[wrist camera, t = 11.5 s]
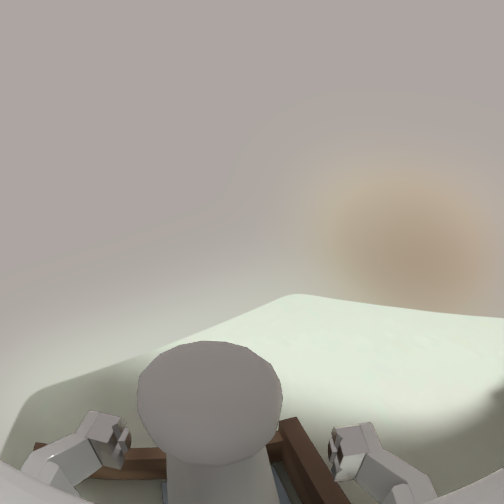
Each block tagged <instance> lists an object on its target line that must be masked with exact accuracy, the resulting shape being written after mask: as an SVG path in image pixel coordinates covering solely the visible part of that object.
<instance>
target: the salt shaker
mask: <svg viewBox="0 0 504 504" xmlns="http://www.w3.org/2000/svg"><path fill="white" fill-rule="evenodd" d="M282 401H283V395H282V389H281V383H280V380H279V378H278V376H277V375H276V373H275V371H274V369H273V367H272V365H271V364H270V363H268V362H267V361H266V360H264V359H263V358H261V357H260V356H258V355H257V354H255V353H254V352H252V351H251V350H250V349H248V348H247V347H243V346H239V345H235V344H232V343H228V342H217V341H199V342H194V343H188V344H183V345H179V346H177V347H174V348H172V349H170V350H168V351H166V352H164V353H161V354H160V355H159V356H157V357H156V358H155V359H154V360H153V361H152V362H151V363H150V364H149V366H148V367H147V368H146V369H145V370H144V371H143V372H142V373H141V374H140V378H139V384H138V390H137V406H138V413H139V416H140V418H141V421H142V423H143V425H144V427H145V429H146V430H147V432H148V433H149V435H150V436H151V438H152V439H153V441H154V442H155V444H156V445H157V447H159V448H160V449H161V450H162V451H163V452H165V453H166V464H167V491H168V504H280V501H279V497H278V493H277V490H276V486H275V482H274V478H273V474H272V470H271V466H270V462H269V458H268V454H267V450H266V446H265V445H266V444H267V443H268V442H270V441H271V439H272V438H273V436H274V435H275V432H276V428H277V425H278V421H279V417H280V413H281V407H282Z"/></svg>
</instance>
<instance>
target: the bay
mask: <svg viewBox="0 0 504 504" xmlns="http://www.w3.org/2000/svg"><path fill="white" fill-rule="evenodd" d="M46 445H48V444H44V443H37V442H36V443H35V446H34V450H33V451H35V450H37V449H40V448H42V447H44V446H46ZM265 446H266V450H267V454H268V458H269V462H270V464H271V463H275V462H279V461H281V462H282V464H283V467H284V469H285V471H286V473H287V475H288V477H289V479H290V481H291V483H292V485H293V487H294V489H295V491H296V493H297V494H298V496H299V498H300V500H301V502H302V504H351V503H350V501H349V500H348V498H347V497H346V495H345V494H344V492H343V491H342V489H341V488H340V486H339V485H338V483H337V482H334V480H333V476H332V474H331V472H330V471H329V469H328V467H327V466H326V464H325V463H324V461H323V460H322V458H321V456H320V455H319V453H318V452H317V450H316V448H315V447H314V445H313V443H312V442H311V440H310V439H309V437H308V435H307V434H306V432H305V430H304V429H303V427H302V425H301V424H300V422H299V420H298V419H297V417H293V418H289V419H285V420H281V421H279V428H278V431H276V432H275V435H274V436H273V438H272V439H271V441H270V442H268V443H267V444H266V445H265ZM124 456H125V460H124V463H123V465H122V468H121V470H120V469H115V468H111V467H107V466H103V465H102V467H101V468H100V469H98V470H97V471H96V472H94V473H93V474H91V475H90V476H89V477H87V478H98V479H125V480H139V479H167V464H166V453H165V452H163V451H162V450H161V449H160V448H159V447H156V448H129V451H127V452H126V453H124ZM271 470H272V474H273V478H274V482H275V486H276V490H277V493H278V497H279V501H280V504H291V502H290V500H289V497H288V495H287V493H286V491H285V489H284V487H283V485H282V483H281V481H280V479H279V476H278V474H277V472H276V470H275V468H274V466H272V467H271ZM161 488H162V496H163V504H168V491H167V482H161Z"/></svg>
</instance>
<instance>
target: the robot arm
mask: <svg viewBox="0 0 504 504" xmlns="http://www.w3.org/2000/svg"><path fill="white" fill-rule="evenodd" d="M126 424H127V423H126V421H125V418H123V417H119V416H114V415H110V414H106V413H102V412H98V411H94V410H90V411H89V412H88V413H87V415H86V416H85V418H84V419H83V421H82V423H81V424H80V426H79V427H78V429H77V431H76V432H75V434H69V435H67V436H65V437H63V438H61V439H59V440H57V441H55V442H53V443H51V444H48V445H46V446H44V447H42V448H40V449H37V450H35V451H33V452H31V454H30V455H29V457H28V458H27V460H26V461H25V463H24V464H23V466H22V467H21V469H20V470H17V469H16V468H14V467H12V466H10V465H8V464H7V463H5V462H3V461H2V460H0V504H96V503H93V502H90V501H87V500H85V499H82V498H81V496H80V494H79V493H78V491H77V490H76V489H75V488H74V487H75V486H76V485H77V484H79V483H80V482H82V481H83V480H84V479H86V478H87V477H89V476H90V475H91V474H93V473H94V472H96V471H97V470H98V469H100V468H101V467H102V465H103V466H107V467H111V468H115V469H120V470H121V468H122V465H123V463H124V460H125V456H124V453H126V452H127V451H129V448H130V446H131V434H130V431H129V430H128V429H127V428H126V427H125V426H126ZM331 434H332V438H331V439H330V440H329V444H328V457H329V461H330V462H331V463H332V464H333V465H332V468H331V471H332V476H333V480H334V482H338V481H346V480H354V479H355V481H356V482H357V483H358V484H359V485H360V486H361V487H362V488H364V489H365V490H366V491H367V492H368V493H369V494H370V495H371V496H372V497H374V498H375V499H376V500H377V501H378V502H379V503H380V504H504V468H501V469H499V470H497V471H496V472H494V473H492V474H490V475H488V476H486V477H484V478H482V479H480V480H478V481H476V482H474V483H472V484H469V485H467V486H465V487H463V488H460V489H458V490H456V491H453V492H451V493H448V494H446V495H443V496H441V497H438V496H437V494H436V492H435V490H434V487H433V485H432V483H431V481H430V479H429V477H428V475H426V474H425V473H423V472H421V471H420V470H418V469H416V468H415V467H413V466H411V465H410V464H408V463H406V462H405V461H403V460H402V459H400V458H398V457H397V456H395V455H394V454H392V453H391V452H389V451H387V450H384V451H383V449H382V446H381V444H380V441H379V439H378V436H377V434H376V432H375V429H374V427H373V424H372V423H371V422H368V423H362V424H353V425H346V426H337V427H333V429H332V432H331Z"/></svg>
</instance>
